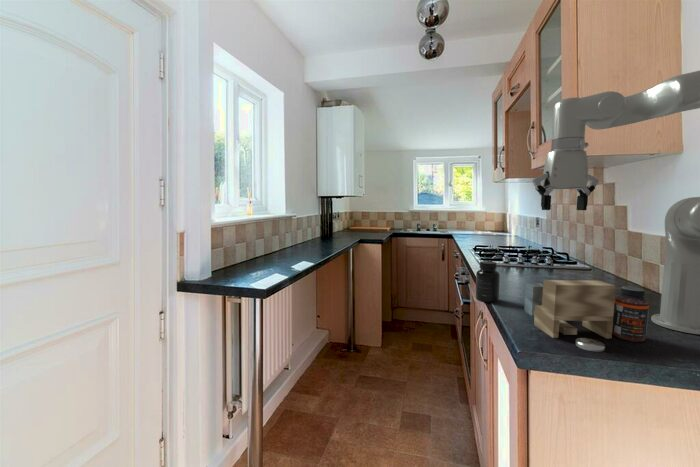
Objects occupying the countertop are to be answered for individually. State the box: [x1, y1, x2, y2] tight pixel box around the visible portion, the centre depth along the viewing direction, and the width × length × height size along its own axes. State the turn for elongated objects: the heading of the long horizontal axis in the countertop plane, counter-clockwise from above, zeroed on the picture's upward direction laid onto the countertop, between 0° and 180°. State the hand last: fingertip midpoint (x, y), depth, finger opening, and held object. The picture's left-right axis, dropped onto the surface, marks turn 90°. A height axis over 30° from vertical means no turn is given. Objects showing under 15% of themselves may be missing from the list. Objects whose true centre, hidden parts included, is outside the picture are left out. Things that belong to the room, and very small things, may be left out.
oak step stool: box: [533, 279, 616, 339], centre depth 79 cm, size 13×8×12 cm, turn 89°
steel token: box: [575, 337, 606, 353], centre depth 71 cm, size 5×5×1 cm
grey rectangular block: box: [523, 282, 578, 336], centre depth 86 cm, size 4×17×8 cm, turn 179°
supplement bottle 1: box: [475, 260, 501, 304], centre depth 105 cm, size 7×7×12 cm
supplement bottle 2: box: [612, 286, 650, 343], centre depth 75 cm, size 6×6×11 cm
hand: (563, 210), depth 93 cm, fingers open, 9 cm apart
